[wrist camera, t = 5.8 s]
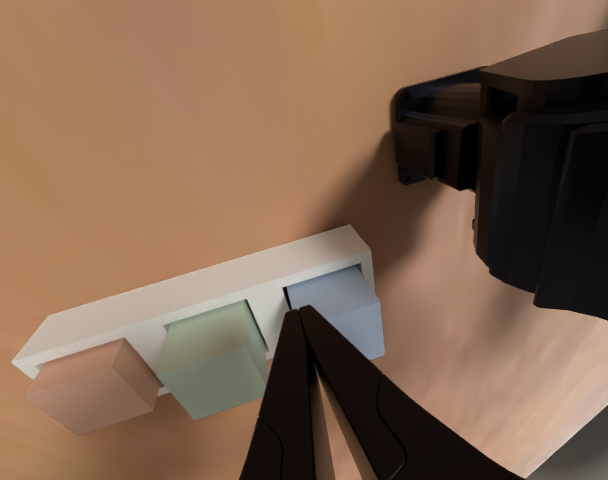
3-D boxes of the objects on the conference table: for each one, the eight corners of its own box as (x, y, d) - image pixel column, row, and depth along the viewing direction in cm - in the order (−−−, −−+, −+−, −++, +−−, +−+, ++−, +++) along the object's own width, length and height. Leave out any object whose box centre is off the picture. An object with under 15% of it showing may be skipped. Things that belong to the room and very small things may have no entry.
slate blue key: (349, 256, 20) (380, 301, 16) (357, 304, 23) (385, 354, 19) (283, 276, 20) (297, 328, 16) (299, 323, 22) (314, 379, 18)
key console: (349, 223, 22) (370, 249, 18) (359, 290, 26) (378, 322, 22) (48, 315, 20) (11, 362, 17) (106, 372, 24) (84, 420, 20)
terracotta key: (137, 308, 20) (111, 367, 16) (168, 350, 23) (153, 410, 19) (67, 329, 20) (22, 395, 16) (107, 370, 23) (78, 436, 18)
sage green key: (243, 289, 20) (245, 345, 15) (263, 335, 22) (270, 394, 18) (173, 310, 19) (155, 375, 15) (202, 355, 22) (194, 420, 18)
